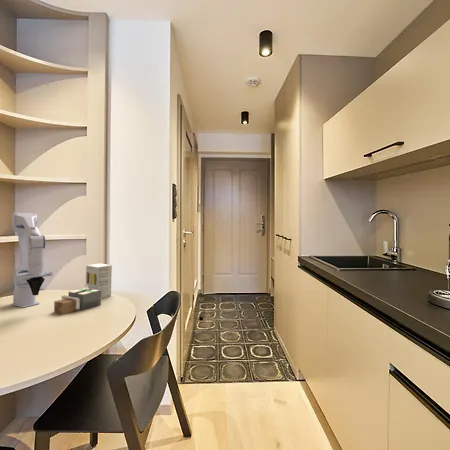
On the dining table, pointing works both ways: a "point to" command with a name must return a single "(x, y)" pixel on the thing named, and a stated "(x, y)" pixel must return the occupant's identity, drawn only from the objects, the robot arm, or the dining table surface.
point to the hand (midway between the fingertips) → (35, 294)
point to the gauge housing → (87, 297)
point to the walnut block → (63, 306)
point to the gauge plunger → (75, 299)
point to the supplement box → (99, 278)
